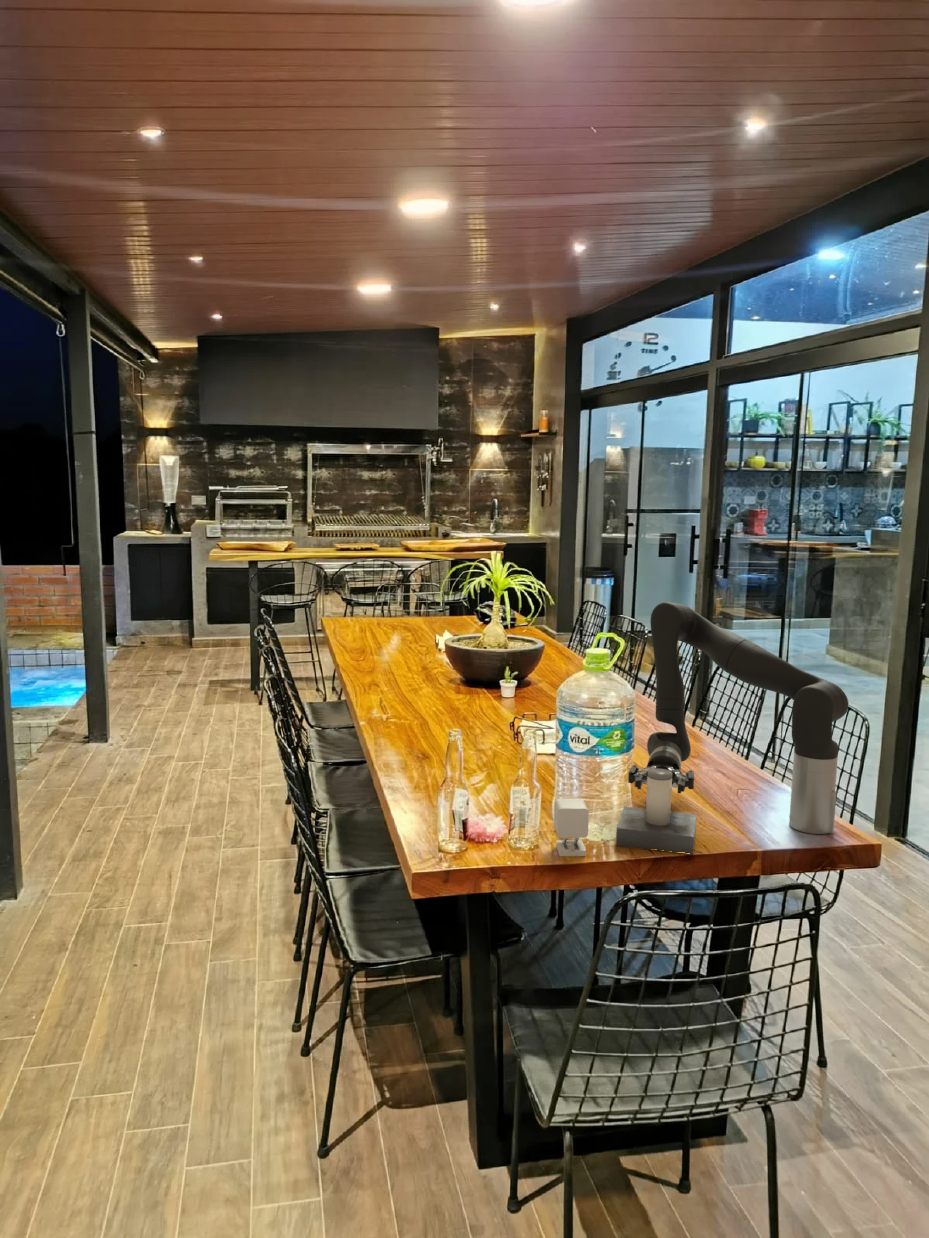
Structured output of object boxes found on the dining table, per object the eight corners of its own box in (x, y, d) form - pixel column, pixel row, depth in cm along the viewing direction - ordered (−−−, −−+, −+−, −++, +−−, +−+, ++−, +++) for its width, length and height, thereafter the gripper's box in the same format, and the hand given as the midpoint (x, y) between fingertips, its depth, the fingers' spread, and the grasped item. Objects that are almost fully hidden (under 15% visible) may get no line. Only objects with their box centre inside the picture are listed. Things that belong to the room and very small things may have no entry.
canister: (670, 818, 203) (673, 769, 202) (669, 826, 198) (671, 777, 197) (646, 815, 205) (649, 767, 203) (644, 823, 200) (646, 774, 198)
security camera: (582, 843, 199) (584, 798, 197) (587, 856, 192) (589, 810, 190) (553, 843, 199) (554, 798, 197) (557, 856, 192) (559, 809, 190)
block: (695, 831, 207) (696, 814, 206) (692, 855, 193) (693, 836, 193) (623, 823, 211) (624, 806, 210) (616, 845, 198) (616, 827, 197)
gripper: (634, 747, 216) (626, 767, 201) (696, 752, 213) (694, 773, 197) (632, 778, 217) (625, 800, 202) (694, 784, 214) (692, 807, 198)
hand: (659, 786), depth 200 cm, fingers open, 8 cm apart
